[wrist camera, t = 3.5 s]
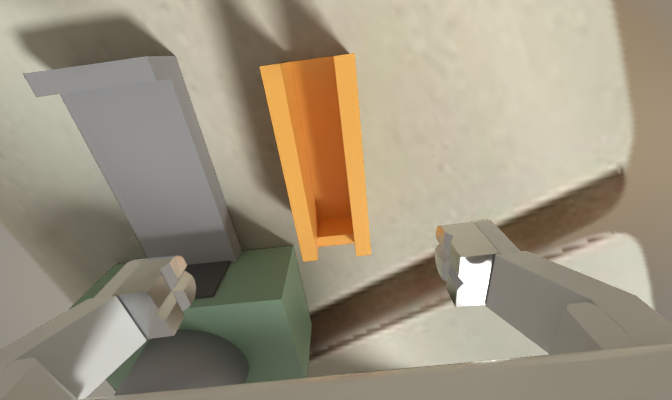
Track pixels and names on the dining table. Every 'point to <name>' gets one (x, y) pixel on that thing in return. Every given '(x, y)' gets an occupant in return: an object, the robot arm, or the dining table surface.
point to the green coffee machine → (184, 232)
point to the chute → (320, 150)
